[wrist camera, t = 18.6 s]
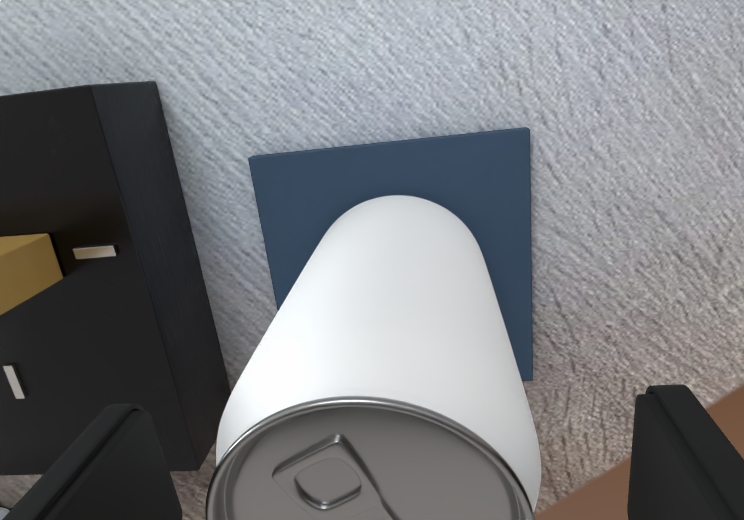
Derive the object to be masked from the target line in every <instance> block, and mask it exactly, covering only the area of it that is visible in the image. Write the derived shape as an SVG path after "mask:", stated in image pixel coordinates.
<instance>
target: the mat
mask: <svg viewBox="0 0 744 520" xmlns="http://www.w3.org/2000/svg"><path fill="white" fill-rule="evenodd" d="M248 160H249V165H250V170H251V176H252V181H253V186H254V191H255V196H256V201H257V206H258V212H259V217H260V222H261V227H262V232H263V237H264V242H265V248H266V253H267V258H268V263H269V268H270V273H271V279H272V284H273V289H274V294H275V299H276V304H277V309H278V311H279V309H280V307H281V306H282V304H283V302H284V301H285V299H286V297H287V296H288V294H289V292H290V291H291V289H292V287H293V286H294V284H295V282H296V281H297V279H298V277H299V276H300V274H301V272H302V271H303V269H304V267H305V266H306V264H307V262H308V261H309V259H310V257H311V256H312V254H313V252H314V251H315V249H316V247H317V246H318V244H319V243H320V241H321V239H322V238H323V236H324V235H325V233H326V232H327V231H328V229H329V228H330V227H331V226H332V224H333V223H334V222H335V221H336V220H337V219H338V218H339V217H340V216H342V215H343V214H344V213H345V212H347V211H348V210H350V209H351V208H353V207H355V206H356V205H358V204H360V203H363V202H365V201H368V200H371V199H374V198H378V197H383V196H392V195H404V196H413V197H418V198H422V199H426V200H429V201H431V202H434V203H436V204H438V205H440V206H442V207H444V208H445V209H447V210H449V211H450V212H452V213H453V214H454V215H455V216H457V217H458V218H459V219H460V220H461V221H462V222H463V223H464V224H465V225H466V226H467V228H468V229H469V230H470V232H471V233H472V235H473V236H474V238H475V239H476V241H477V243H478V245H479V247H480V250H481V252H482V255H483V258H484V261H485V264H486V267H487V270H488V273H489V276H490V279H491V282H492V285H493V289H494V292H495V295H496V298H497V301H498V305H499V308H500V311H501V314H502V318H503V321H504V324H505V327H506V331H507V334H508V337H509V340H510V344H511V347H512V350H513V354H514V357H515V360H516V364H517V367H518V370H519V373H520V377H521V380H522V381H532V380H533V354H532V268H531V182H530V129H529V128H526V127H525V128H516V129H506V130H496V131H487V132H477V133H468V134H458V135H449V136H439V137H429V138H420V139H410V140H401V141H391V142H381V143H372V144H362V145H353V146H343V147H334V148H324V149H314V150H305V151H295V152H286V153H276V154H266V155H257V156H252V157H250V158H249V159H248Z"/></svg>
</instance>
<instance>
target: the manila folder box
mask: <svg viewBox="0 0 744 520" xmlns="http://www.w3.org/2000/svg"><path fill="white" fill-rule="evenodd" d="M61 279H63V276H62V273H61V270H60V266H59V263H58V260H57V257H56V254H55V251H54V248H53V245H52V242H51V239H50V236H49V234H33V235H19V236H6V237H0V315H2V314H4V313H5V312H7V311H9V310H11V309H12V308H14V307H16V306H17V305H19V304H21V303H22V302H24V301H26V300H28V299H29V298H31V297H33V296H34V295H36V294H38V293H39V292H41V291H43V290H44V289H46V288H48V287H50V286H51V285H53V284H55V283H56V282H58V281H60V280H61Z"/></svg>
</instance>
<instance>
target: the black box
mask: <svg viewBox="0 0 744 520" xmlns="http://www.w3.org/2000/svg"><path fill="white" fill-rule="evenodd" d="M33 234H49V236H50V239H51V242H52V245H53V248H54V251H55V254H56V257H57V260H58V263H59V266H60V270H61V273H62V276H63V279H61V280H60V281H58V282H56V283H55V284H53V285H51V286H50V287H48V288H46V289H44V290H43V291H41V292H39V293H38V294H36V295H34V296H33V297H31V298H29V299H28V300H26V301H24V302H22V303H21V304H19V305H17V306H16V307H14V308H12V309H11V310H9V311H7V312H5V313H4V314H2V315H0V475H38V474H44V473H45V472H46V471H47V470H48V469H49V468H50V467H51V466H52V465H53V464H54V463H55V461H56V460H57V459H58V458H59V457H60V456H61V455H62V454H63V453H64V452H65V451H66V449H67V448H68V447H69V446H70V445H71V444H72V443H73V442H74V441H75V440H76V439H77V437H78V436H79V435H80V434H81V433H82V432H83V431H84V430H85V429H86V428H87V427H88V425H89V424H90V423H91V422H92V421H93V420H94V419H95V418H96V417H97V416H98V415H99V413H100V412H101V411H102V410H103V409H104V408H105V407H107V406H108V405H111V404H134V403H136V404H140V405H141V406H142V407H143V409H144V410H145V411H148V412H149V413H150V414H151V416H152V419H153V422H154V425H155V429H156V432H157V435H158V438H159V441H160V444H161V447H162V450H163V453H164V456H165V459H166V462H167V465H168V469H169V471H198V470H199V469H200V467H201V465H202V464H203V462H204V460H205V458H206V457H207V455H208V453H209V451H210V449H211V448H212V446H213V444H214V442H215V440H216V439H217V435H218V429H219V425H220V421H221V418H222V415H223V412H224V409H225V407H226V404H227V402H228V400H229V397H230V395H231V391H230V387H229V383H228V379H227V375H226V371H225V367H224V362H223V358H222V354H221V350H220V346H219V342H218V338H217V334H216V329H215V325H214V321H213V317H212V313H211V309H210V305H209V300H208V296H207V292H206V288H205V284H204V280H203V276H202V272H201V267H200V263H199V259H198V255H197V251H196V247H195V243H194V238H193V234H192V230H191V226H190V222H189V218H188V214H187V210H186V205H185V201H184V197H183V193H182V189H181V185H180V181H179V177H178V172H177V168H176V164H175V160H174V156H173V152H172V148H171V143H170V139H169V135H168V131H167V127H166V123H165V119H164V115H163V110H162V106H161V102H160V98H159V94H158V90H157V86H156V82H155V81H146V82H128V83H111V84H94V85H83V86H75V87H68V88H60V89H52V90H44V91H36V92H28V93H21V94H13V95H5V96H0V237H6V236H19V235H33Z"/></svg>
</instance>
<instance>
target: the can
mask: <svg viewBox="0 0 744 520" xmlns="http://www.w3.org/2000/svg"><path fill="white" fill-rule="evenodd" d="M216 466H217V467H216V469H215V471H214V473H213V476H212V478H211V481H210V484H209V488H208V492H207V498H206V511H205V512H206V520H535V518H534V511H535V508H536V504H537V500H538V496H539V490H540V484H541V458H540V450H539V443H538V438H537V434H536V430H535V426H534V422H533V418H532V414H531V411H530V407H529V404H528V400H527V397H526V394H525V390H524V387H523V383H522V380H521V377H520V373H519V370H518V367H517V364H516V360H515V357H514V354H513V350H512V347H511V344H510V340H509V337H508V334H507V331H506V327H505V324H504V321H503V318H502V314H501V311H500V308H499V305H498V301H497V298H496V295H495V292H494V289H493V285H492V282H491V279H490V276H489V273H488V270H487V267H486V264H485V261H484V258H483V255H482V252H481V250H480V247H479V245H478V243H477V241H476V239H475V238H474V236H473V235H472V233H471V232H470V230H469V229H468V228H467V226H466V225H465V224H464V223H463V222H462V221H461V220H460V219H459V218H458V217H457V216H455V215H454V214H453V213H452V212H450V211H449V210H447V209H445V208H444V207H442V206H440V205H438V204H436V203H434V202H431V201H429V200H426V199H422V198H418V197H413V196H404V195H392V196H383V197H378V198H374V199H371V200H368V201H365V202H363V203H360V204H358V205H356V206H355V207H353V208H351V209H350V210H348V211H347V212H345V213H344V214H343V215H342V216H340V217H339V218H338V219H337V220H336V221H335V222H334V223H333V224H332V226H331V227H330V228H329V229H328V231H327V232H326V233H325V235H324V236H323V238H322V239H321V241H320V243H319V244H318V246H317V247H316V249H315V251H314V252H313V254H312V256H311V257H310V259H309V261H308V262H307V264H306V266H305V267H304V269H303V271H302V272H301V274H300V276H299V277H298V279H297V281H296V282H295V284H294V286H293V287H292V289H291V291H290V292H289V294H288V296H287V297H286V299H285V301H284V302H283V304H282V306H281V307H280V309H279V311H278V313H277V314H276V316H275V318H274V319H273V321H272V323H271V324H270V326H269V328H268V330H267V331H266V333H265V335H264V336H263V338H262V340H261V341H260V343H259V345H258V347H257V348H256V350H255V352H254V353H253V355H252V357H251V359H250V360H249V362H248V364H247V366H246V367H245V369H244V371H243V373H242V374H241V376H240V378H239V380H238V382H237V384H236V386H235V387H234V389H233V391H232V393H231V395H230V397H229V400H228V402H227V404H226V407H225V409H224V412H223V415H222V418H221V421H220V425H219V429H218V435H217V445H216Z"/></svg>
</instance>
